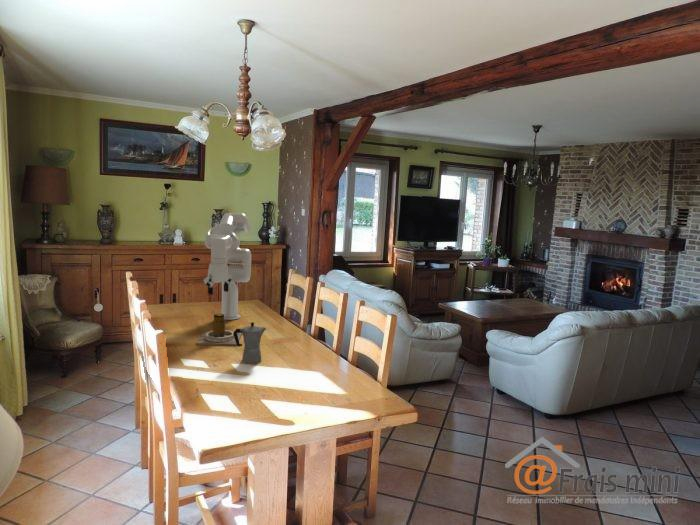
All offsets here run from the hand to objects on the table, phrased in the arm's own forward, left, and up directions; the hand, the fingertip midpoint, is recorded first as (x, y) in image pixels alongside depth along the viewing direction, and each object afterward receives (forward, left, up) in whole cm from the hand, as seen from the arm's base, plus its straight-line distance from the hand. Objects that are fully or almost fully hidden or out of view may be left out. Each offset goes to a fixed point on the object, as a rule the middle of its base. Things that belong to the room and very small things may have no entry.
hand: (218, 292), depth 258 cm
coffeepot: (+38, +21, -23) cm, 50 cm away
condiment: (+7, +2, -22) cm, 23 cm away
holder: (+7, +2, -23) cm, 24 cm away
